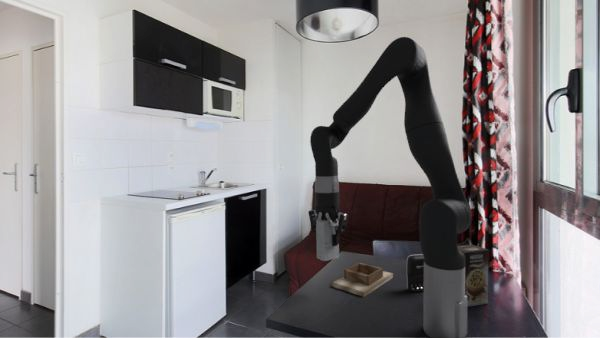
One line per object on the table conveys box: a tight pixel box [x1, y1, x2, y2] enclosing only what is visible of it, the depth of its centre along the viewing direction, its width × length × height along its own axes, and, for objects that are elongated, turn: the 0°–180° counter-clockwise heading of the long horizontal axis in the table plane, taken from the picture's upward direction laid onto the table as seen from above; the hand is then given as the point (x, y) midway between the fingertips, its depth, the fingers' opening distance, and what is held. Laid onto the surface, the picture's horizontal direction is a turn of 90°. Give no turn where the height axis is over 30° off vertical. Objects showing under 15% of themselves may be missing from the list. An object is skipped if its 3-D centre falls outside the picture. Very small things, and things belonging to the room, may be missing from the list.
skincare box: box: [315, 220, 340, 262], centre depth 101 cm, size 6×4×12 cm
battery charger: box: [405, 253, 424, 293], centre depth 103 cm, size 7×4×11 cm, turn 101°
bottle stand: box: [331, 262, 394, 298], centre depth 110 cm, size 12×20×4 cm, turn 139°
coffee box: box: [457, 244, 490, 308], centre depth 95 cm, size 9×6×16 cm
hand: (328, 244), depth 101 cm, fingers closed on skincare box, 5 cm apart
